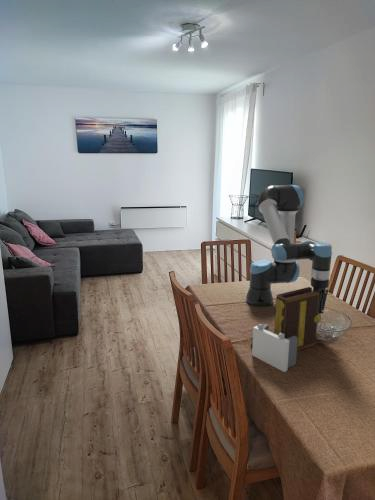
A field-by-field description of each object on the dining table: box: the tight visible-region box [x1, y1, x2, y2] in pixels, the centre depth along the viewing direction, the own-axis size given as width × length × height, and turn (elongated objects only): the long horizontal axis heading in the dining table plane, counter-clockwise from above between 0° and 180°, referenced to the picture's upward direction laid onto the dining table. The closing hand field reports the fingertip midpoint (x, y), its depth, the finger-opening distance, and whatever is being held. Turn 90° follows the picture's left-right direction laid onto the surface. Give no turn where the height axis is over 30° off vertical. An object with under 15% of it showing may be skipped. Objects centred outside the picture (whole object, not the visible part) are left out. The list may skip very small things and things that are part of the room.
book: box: [273, 286, 322, 352], centre depth 157 cm, size 22×8×25 cm, turn 117°
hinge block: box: [250, 334, 253, 346], centre depth 162 cm, size 4×4×4 cm
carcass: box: [251, 323, 298, 373], centre depth 148 cm, size 8×16×15 cm, turn 40°
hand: (316, 326), depth 168 cm, fingers closed
